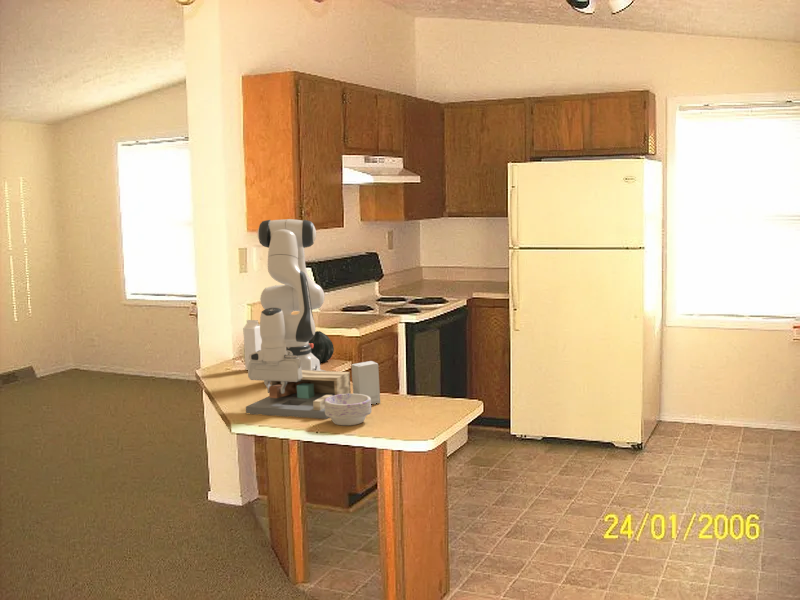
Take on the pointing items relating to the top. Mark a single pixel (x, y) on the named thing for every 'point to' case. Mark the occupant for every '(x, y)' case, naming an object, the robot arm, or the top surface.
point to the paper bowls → (348, 408)
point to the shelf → (325, 381)
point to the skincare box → (366, 380)
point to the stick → (320, 402)
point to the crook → (289, 389)
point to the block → (305, 390)
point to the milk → (251, 339)
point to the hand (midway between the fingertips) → (276, 393)
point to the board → (288, 406)
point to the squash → (322, 346)
